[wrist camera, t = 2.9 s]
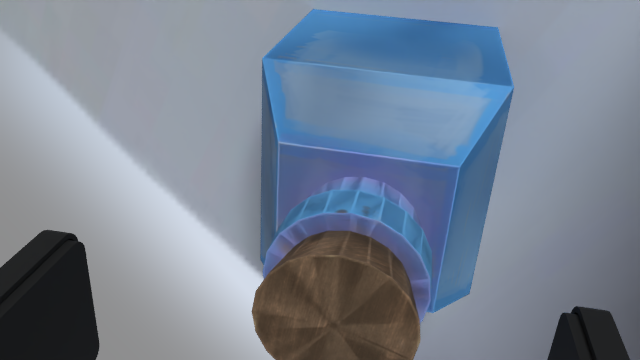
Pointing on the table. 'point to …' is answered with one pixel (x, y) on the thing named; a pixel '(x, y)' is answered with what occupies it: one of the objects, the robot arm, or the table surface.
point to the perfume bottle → (373, 179)
